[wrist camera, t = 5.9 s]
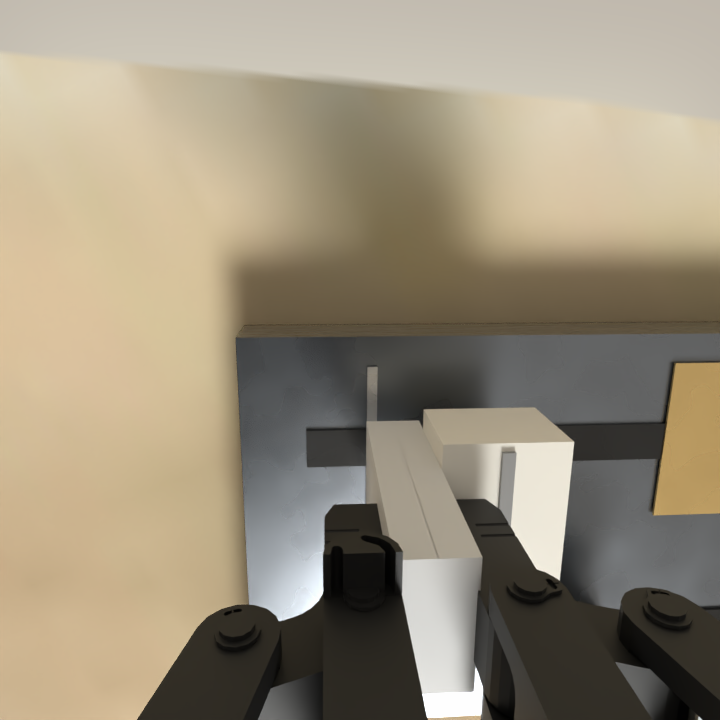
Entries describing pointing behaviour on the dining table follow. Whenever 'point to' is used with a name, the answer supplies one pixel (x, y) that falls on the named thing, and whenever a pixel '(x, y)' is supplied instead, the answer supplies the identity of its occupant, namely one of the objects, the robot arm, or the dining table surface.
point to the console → (491, 390)
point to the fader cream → (509, 471)
